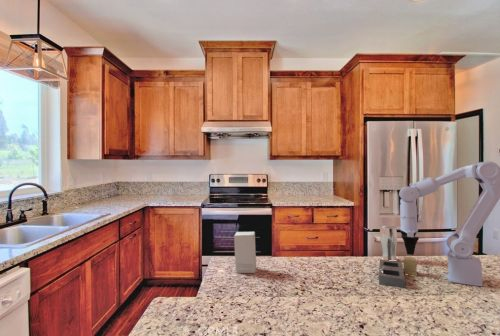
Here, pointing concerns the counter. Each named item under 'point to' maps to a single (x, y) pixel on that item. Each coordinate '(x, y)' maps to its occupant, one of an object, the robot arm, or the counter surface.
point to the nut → (410, 266)
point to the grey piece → (391, 273)
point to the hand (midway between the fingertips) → (409, 251)
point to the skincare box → (245, 252)
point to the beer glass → (388, 242)
